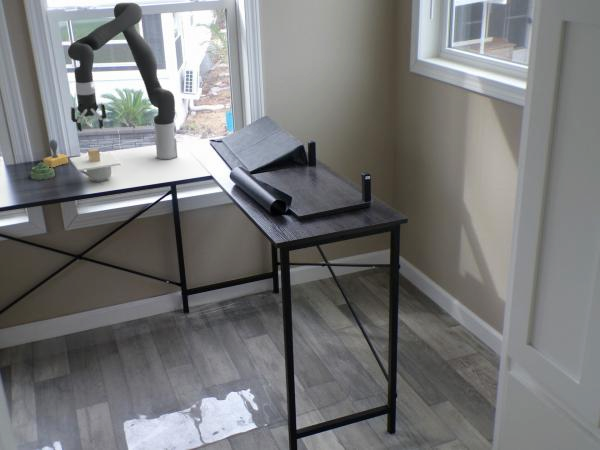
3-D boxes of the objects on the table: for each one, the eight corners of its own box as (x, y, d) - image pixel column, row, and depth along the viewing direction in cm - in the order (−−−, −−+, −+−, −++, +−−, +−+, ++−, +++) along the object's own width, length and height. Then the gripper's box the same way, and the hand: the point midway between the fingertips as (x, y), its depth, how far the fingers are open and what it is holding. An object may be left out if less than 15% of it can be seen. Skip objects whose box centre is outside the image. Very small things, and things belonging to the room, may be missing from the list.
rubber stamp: (60, 160, 322) (57, 136, 317) (68, 162, 320) (65, 138, 315) (43, 166, 314) (39, 141, 310) (52, 168, 312) (48, 143, 307)
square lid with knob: (110, 154, 306) (108, 141, 304) (120, 165, 292) (119, 152, 289) (69, 159, 298) (67, 147, 296) (78, 171, 284) (76, 158, 281)
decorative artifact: (32, 173, 305) (29, 180, 296) (30, 158, 302) (27, 165, 293) (55, 172, 307) (53, 179, 298) (53, 157, 304) (51, 164, 295)
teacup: (116, 176, 302) (114, 159, 299) (107, 184, 292) (105, 166, 289) (86, 174, 303) (84, 158, 300) (76, 182, 294) (74, 165, 290)
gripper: (100, 88, 288) (105, 125, 295) (66, 92, 282) (71, 129, 289) (104, 92, 282) (109, 129, 289) (70, 95, 276) (75, 133, 283)
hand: (90, 129), depth 289 cm, fingers open, 8 cm apart
